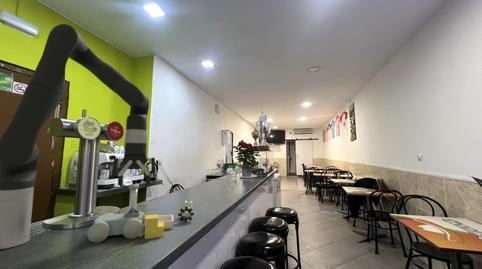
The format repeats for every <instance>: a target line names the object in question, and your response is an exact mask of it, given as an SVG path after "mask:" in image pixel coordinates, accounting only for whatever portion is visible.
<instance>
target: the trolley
mask: <svg viewBox="0 0 482 269" xmlns="http://www.w3.org/2000/svg"><path fill="white" fill-rule="evenodd" d="M145 219H146V214H145V213H144V211H141V209H136V213H131V214H129V210H126V212H124V213H115V214H114V213H111V212H106V213H104V214H101V215H100V216H98V217H97V218H96V219H95V220H94V221H93V224H92V225H91V226H90V227H88V228H89V229H88V231H87V233H86V234H87V238H88V240H89V241H90V242H91V243H95V244H96V243H97V244H98V243H101V242H103V241H105V240H106V239H107V237H108V236H109V237H110V236H119V235H123V237H125V238H126V239H128V240H129V239H130V240H131V239H132V240H133V239H136V238H138V237H139V236H140V235H141V234H142V232H143V228H144V225H145Z"/></svg>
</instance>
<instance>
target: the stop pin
mask: <svg viewBox="0 0 482 269" xmlns="http://www.w3.org/2000/svg"><path fill="white" fill-rule="evenodd" d="M128 188H129V190H130V191H129V202H128V203H129V205H128V206H129V207H128V208H129V209H128V211H129V214H131V213H136V210H138V209H137V206H138V205H137V203H138V189H139V188H140V184H138V183H136V184H128Z"/></svg>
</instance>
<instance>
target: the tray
mask: <svg viewBox="0 0 482 269" xmlns="http://www.w3.org/2000/svg"><path fill="white" fill-rule="evenodd" d="M174 221H175V220H174V214H164V215H163V214H161V215H158V223H160V222H164V231H166V230H173V229H174V226H175V225H174Z"/></svg>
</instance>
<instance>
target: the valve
mask: <svg viewBox="0 0 482 269" xmlns="http://www.w3.org/2000/svg"><path fill="white" fill-rule="evenodd" d="M193 209H194V208H193V201H192V200H185V201H184V203H183V207H181V208H180V209H179V211H180V212H179V213H177V216H178V217H180V218H179V221H180V222H182V221H184V222H183V223H185V224H186V223H187V222H188V221H192V220H193V216H194V215H195V213H194V212H193Z"/></svg>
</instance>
